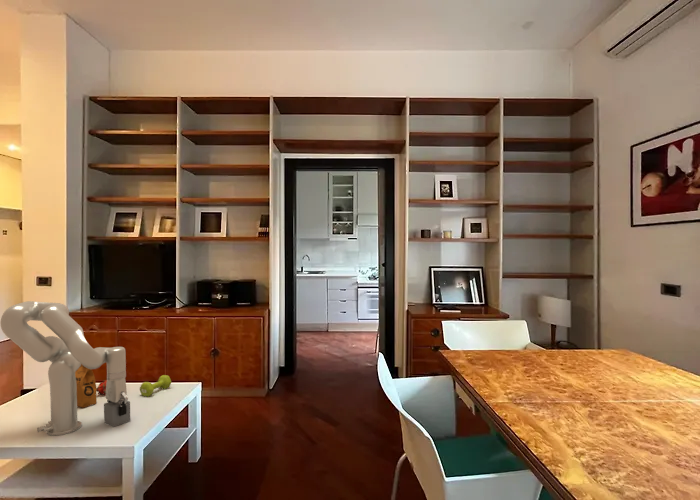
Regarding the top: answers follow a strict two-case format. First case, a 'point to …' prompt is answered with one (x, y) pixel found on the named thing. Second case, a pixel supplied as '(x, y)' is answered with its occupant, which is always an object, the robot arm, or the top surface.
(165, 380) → the dumbbell
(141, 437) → the top surface
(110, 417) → the grey square block
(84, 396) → the coffee package
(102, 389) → the dragon fruit
